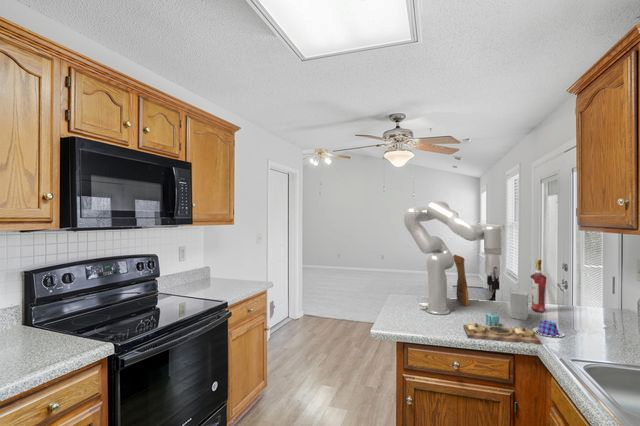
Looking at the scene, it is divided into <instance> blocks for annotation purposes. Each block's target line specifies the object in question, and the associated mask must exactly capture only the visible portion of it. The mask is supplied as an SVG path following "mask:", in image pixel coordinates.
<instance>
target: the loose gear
mask: <svg viewBox="0 0 640 426" xmlns="http://www.w3.org/2000/svg"><path fill="white" fill-rule="evenodd" d="M485 326H487V327H491V326H498V327H500V315H499V314H497V313H492V312H486V314H485Z"/></svg>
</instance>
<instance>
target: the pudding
mask: <svg viewBox="0 0 640 426" xmlns="http://www.w3.org/2000/svg"><path fill="white" fill-rule="evenodd" d="M537 329H538V331H537V332H538V333H537V332H536V331H535V330H537ZM558 329H559V328H558V326H557V323H556V322H554V321H552V320H547V319H546V320H543V319H542V320H541V321H540V322H539V325H538V326H537V327H533V328H532V331H535V334H538V335H541V336H543V335H544V334H545V335H544V336H546V337H547V335H551V336H549V338H550V337H551V338H553V337H552V336H556V335H560V334H559V333H558V332H560V333H562V336H559V337H558V338H562V337H564V336H565V333H564V332H562V331H561V330H558ZM539 333H541V334H539ZM542 334H543V335H542Z"/></svg>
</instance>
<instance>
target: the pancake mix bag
mask: <svg viewBox="0 0 640 426" xmlns="http://www.w3.org/2000/svg"><path fill="white" fill-rule="evenodd" d="M453 257H454V265H455V266H456V267H455V268H456V272H457V279H456V281H457V282H456V301H457V303H459V305H460V306H463V307H464V306H465V307H466V306H469V304H470V303H469V300H470V299H469V292H468V291H469V290H468V283H467V278H466V271H465V270H466V269H465V261H466V260H465V258H464V257H462V256H460V255H456V254H454V255H453Z"/></svg>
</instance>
